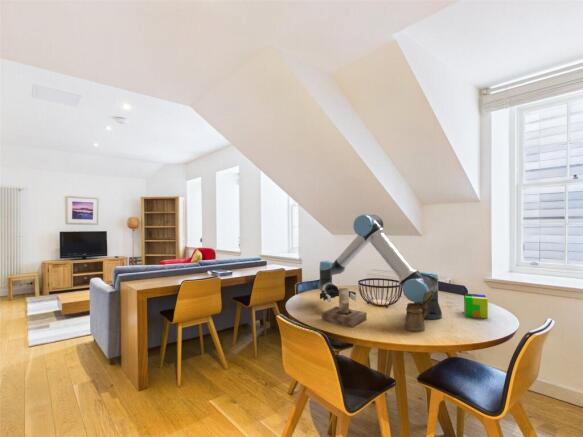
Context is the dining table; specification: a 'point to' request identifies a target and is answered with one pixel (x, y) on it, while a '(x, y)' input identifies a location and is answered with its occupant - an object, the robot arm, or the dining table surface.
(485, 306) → the puzzle toy
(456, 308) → the dining table surface
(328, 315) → the walnut board
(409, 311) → the wooden mug
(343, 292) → the birch peg
